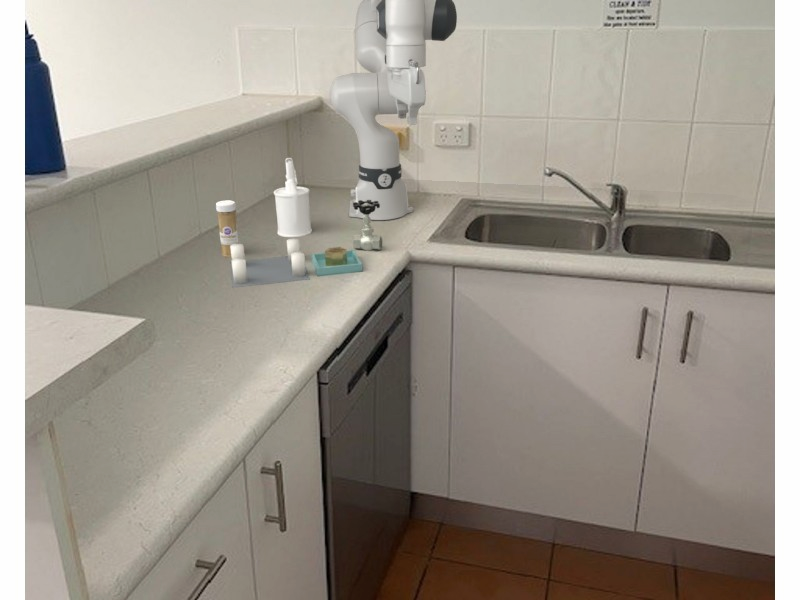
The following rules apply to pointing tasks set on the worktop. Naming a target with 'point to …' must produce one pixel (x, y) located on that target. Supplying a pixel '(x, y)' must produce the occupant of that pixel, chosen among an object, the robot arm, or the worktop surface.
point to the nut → (335, 256)
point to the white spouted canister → (292, 206)
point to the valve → (367, 227)
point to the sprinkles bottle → (227, 225)
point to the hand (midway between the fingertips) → (407, 121)
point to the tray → (323, 270)
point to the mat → (268, 271)
